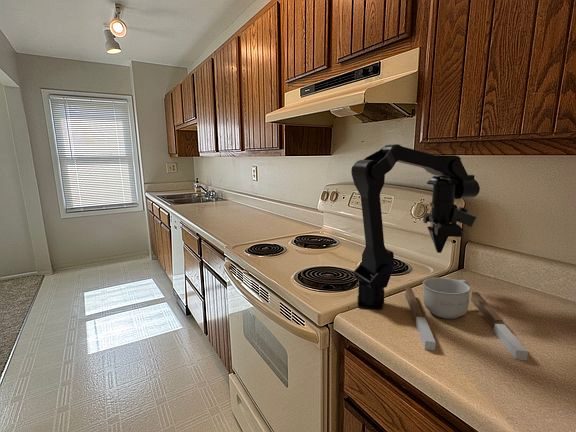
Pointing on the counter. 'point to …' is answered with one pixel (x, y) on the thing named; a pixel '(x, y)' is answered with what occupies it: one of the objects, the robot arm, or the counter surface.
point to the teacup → (446, 297)
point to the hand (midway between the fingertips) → (438, 252)
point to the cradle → (475, 298)
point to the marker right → (510, 342)
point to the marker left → (425, 333)
